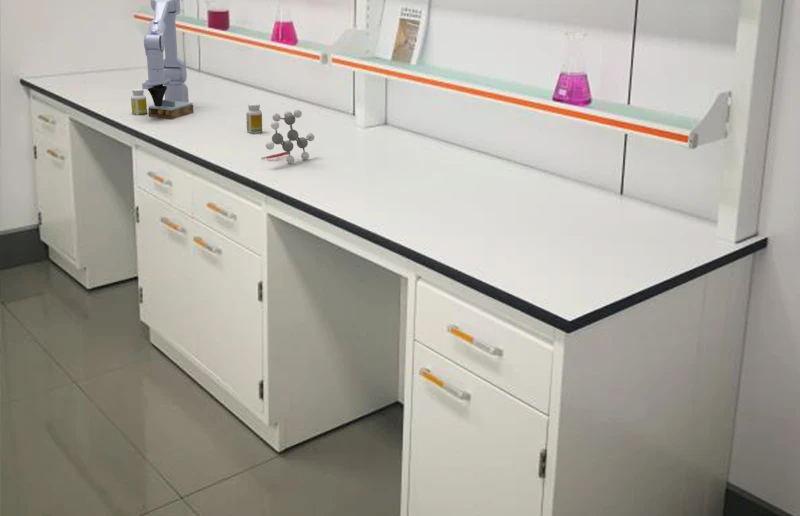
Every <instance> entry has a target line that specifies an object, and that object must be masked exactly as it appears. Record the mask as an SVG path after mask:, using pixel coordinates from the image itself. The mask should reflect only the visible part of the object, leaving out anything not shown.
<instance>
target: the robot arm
mask: <svg viewBox="0 0 800 516" xmlns="http://www.w3.org/2000/svg"><path fill="white" fill-rule="evenodd" d="M150 5H151V8H152V11H153V12H154V15H153V19H152V20H151V21H150V22H149V27H148V31H147V34H146V35H144V36H143V47H144V52H145V56H146V64H147V65H146V66H147V79H146V80H145V82H143V83H142V84H141V86H142V88H141V89H143V90H147V91H148V92H149V94H150V97H151V99H152V101H153V105H155V106H157V107H160V106H162V101H163V100H169V101H179V102H188V103H190V101H189V88H188V85H187V84H186V81H187V77H188V76H187V75H188V74H187V67H186V62H184V61H183V60H182V59H180V58H179V57H178V45H177V44H178V43H177V42H178V41H177V28H176V27H177V26H176V17H177V16H178V15H180V13H181V1H180V0H150ZM164 57H165V58H164Z"/></svg>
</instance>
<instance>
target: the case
mask: <svg viewBox="0 0 800 516" xmlns="http://www.w3.org/2000/svg"><path fill="white" fill-rule="evenodd" d="M157 110H158V109H153V108H149V107H147V112H148V117H150V118H159V119H166V120H167V119H168V120H174V119H177V118H181V117H184V116H188V115H190V114H194V104H193V105H189V106H186V107H182V108H179V109H175V110H172V111H169V115H166V113H165V114H164V115H161V114H158V113H157ZM165 112H166V110H165Z"/></svg>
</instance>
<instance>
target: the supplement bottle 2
mask: <svg viewBox="0 0 800 516" xmlns="http://www.w3.org/2000/svg"><path fill="white" fill-rule="evenodd" d="M247 109H248V110H246V117H245V118H246V132H247V133H248V134H260V133H262V132H263V112H262V110H261V105H260V104H259V103H248V105H247Z"/></svg>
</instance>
